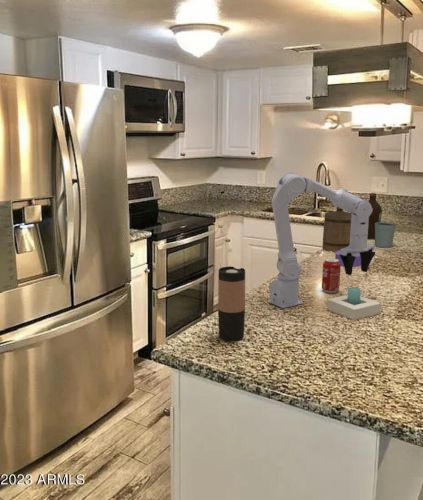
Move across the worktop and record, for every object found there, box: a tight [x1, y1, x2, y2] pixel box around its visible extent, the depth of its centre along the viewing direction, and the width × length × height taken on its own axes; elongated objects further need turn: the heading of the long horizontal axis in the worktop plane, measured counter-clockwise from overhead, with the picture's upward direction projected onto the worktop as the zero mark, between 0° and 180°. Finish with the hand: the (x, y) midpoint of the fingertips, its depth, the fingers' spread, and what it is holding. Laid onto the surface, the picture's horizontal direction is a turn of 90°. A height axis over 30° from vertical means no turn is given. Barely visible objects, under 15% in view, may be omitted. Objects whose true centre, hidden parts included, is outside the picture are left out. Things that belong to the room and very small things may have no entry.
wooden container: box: [322, 206, 352, 253], centre depth 253 cm, size 15×15×22 cm
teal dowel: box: [347, 286, 362, 305], centre depth 165 cm, size 4×4×7 cm
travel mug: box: [217, 265, 246, 342], centre depth 143 cm, size 8×8×20 cm
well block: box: [326, 294, 382, 321], centre depth 165 cm, size 12×12×4 cm
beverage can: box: [321, 257, 342, 294], centre depth 186 cm, size 6×6×12 cm
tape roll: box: [334, 251, 361, 268], centre depth 226 cm, size 12×12×5 cm
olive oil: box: [367, 192, 383, 240], centre depth 280 cm, size 11×11×25 cm
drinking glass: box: [374, 221, 397, 249], centre depth 260 cm, size 10×10×12 cm
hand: (356, 272), depth 175 cm, fingers open, 7 cm apart
